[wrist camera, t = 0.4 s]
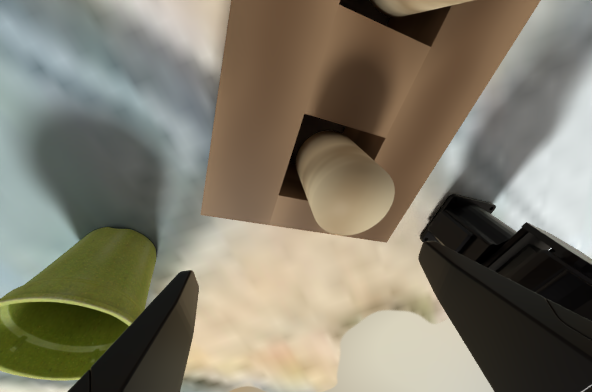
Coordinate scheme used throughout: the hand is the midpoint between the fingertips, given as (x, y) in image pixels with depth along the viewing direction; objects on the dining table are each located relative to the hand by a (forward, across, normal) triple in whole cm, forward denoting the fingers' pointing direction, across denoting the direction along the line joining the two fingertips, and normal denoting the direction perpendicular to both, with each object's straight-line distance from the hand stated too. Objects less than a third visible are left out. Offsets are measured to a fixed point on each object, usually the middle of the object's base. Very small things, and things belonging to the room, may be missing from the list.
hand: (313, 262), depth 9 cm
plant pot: (+12, +16, +8) cm, 22 cm away
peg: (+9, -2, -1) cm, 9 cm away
